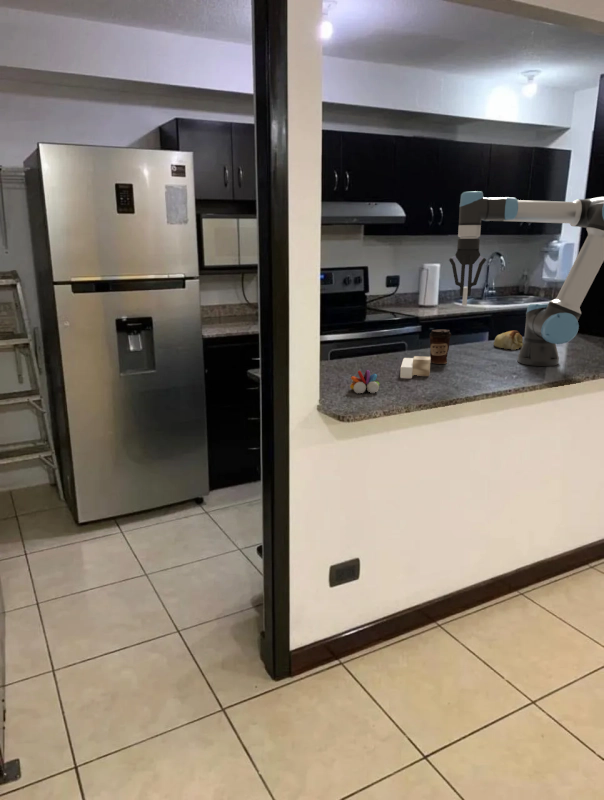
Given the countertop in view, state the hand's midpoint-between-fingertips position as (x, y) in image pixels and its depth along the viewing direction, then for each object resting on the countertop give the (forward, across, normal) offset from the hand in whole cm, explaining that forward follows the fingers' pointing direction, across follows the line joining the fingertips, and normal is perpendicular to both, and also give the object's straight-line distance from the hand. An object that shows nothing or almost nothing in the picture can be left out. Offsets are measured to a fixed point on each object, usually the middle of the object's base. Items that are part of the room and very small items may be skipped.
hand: (464, 305), depth 215 cm
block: (+25, +14, +8) cm, 29 cm away
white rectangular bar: (+24, +19, +8) cm, 32 cm away
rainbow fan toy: (+25, +31, +36) cm, 54 cm away
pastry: (+25, -22, -51) cm, 61 cm away
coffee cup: (+25, +8, -12) cm, 29 cm away
